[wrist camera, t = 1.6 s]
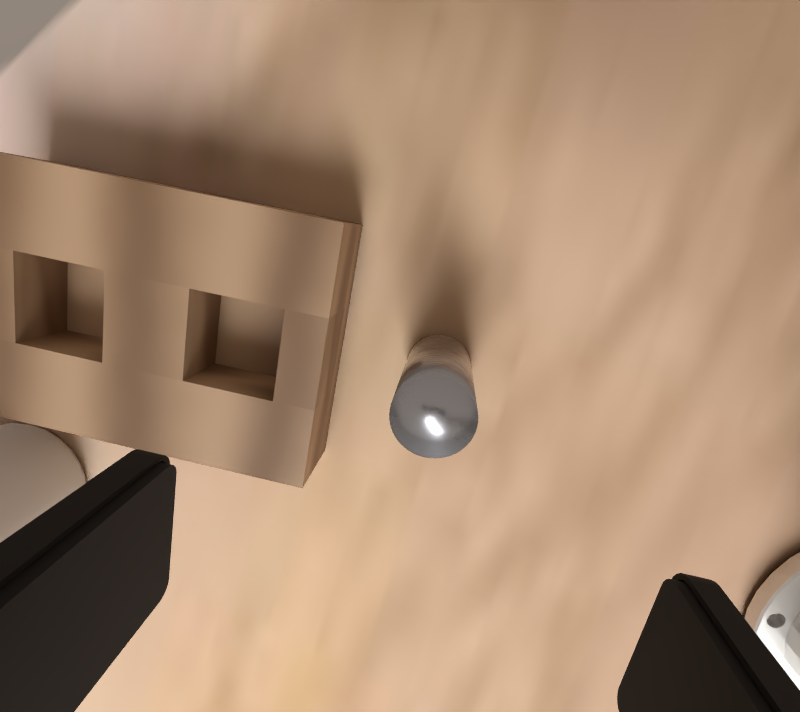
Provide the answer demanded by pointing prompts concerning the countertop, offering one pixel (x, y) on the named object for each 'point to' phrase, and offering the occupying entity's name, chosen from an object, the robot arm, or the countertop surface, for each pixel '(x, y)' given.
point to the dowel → (435, 399)
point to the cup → (33, 474)
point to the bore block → (170, 317)
